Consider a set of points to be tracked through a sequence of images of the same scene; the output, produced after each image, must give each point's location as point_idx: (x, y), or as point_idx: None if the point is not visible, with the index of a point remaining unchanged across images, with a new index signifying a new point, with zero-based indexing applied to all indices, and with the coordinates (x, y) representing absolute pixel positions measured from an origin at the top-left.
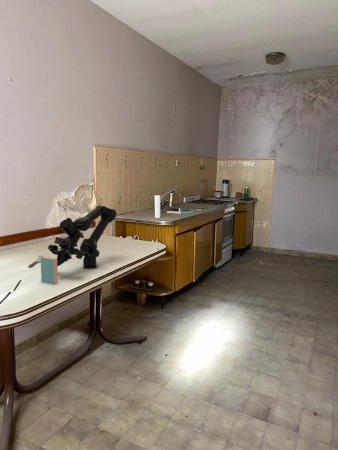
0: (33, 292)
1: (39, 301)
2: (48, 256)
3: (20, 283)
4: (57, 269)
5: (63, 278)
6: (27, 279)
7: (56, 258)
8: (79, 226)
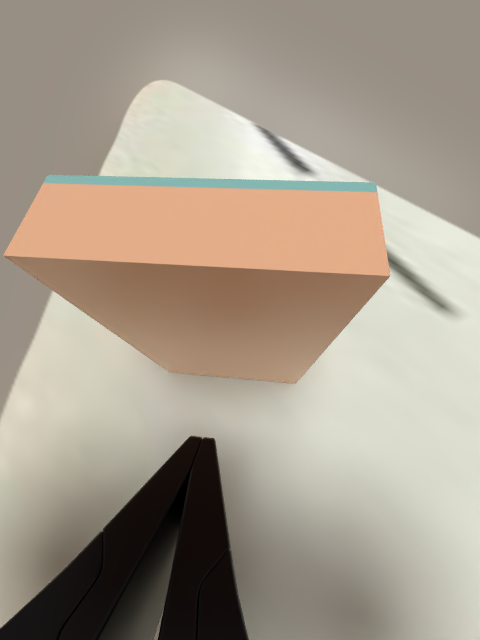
0: None
1: (113, 158)
2: None
3: None
4: (121, 338)
5: None
6: (424, 338)
7: (16, 247)
8: None
